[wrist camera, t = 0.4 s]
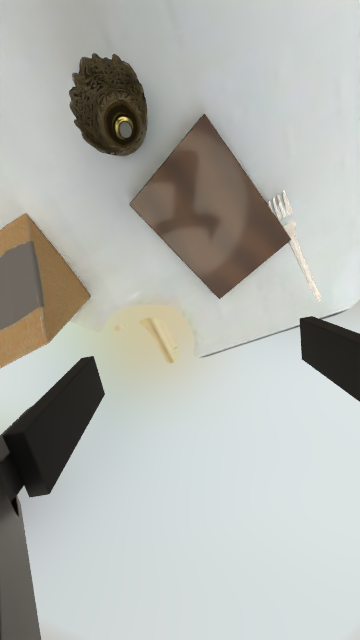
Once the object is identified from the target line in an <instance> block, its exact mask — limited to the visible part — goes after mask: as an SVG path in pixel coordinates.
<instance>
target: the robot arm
mask: <svg viewBox="0 0 360 640" xmlns="http://www.w3.org/2000/svg"><path fill="white" fill-rule="evenodd" d="M300 332H301V350H302V360H304V361H305V362H307V363H308V364H309V365H311V366H312V367H313V368H315V369H316V370H317V371H319V372H320V373H322V374H323V375H324V376H326V377H327V378H328V379H330V380H331V381H333V382H334V383H335V384H336V385H338V386H339V387H341V388H342V389H343V390H345V391H346V392H347V393H349V394H350V395H351V396H353V397H354V398H356V399H357V400H358V401H360V334H359V333H356V332H353V331H351V330H348V329H345V328H343V327H340V326H337V325H334V324H332V323H329V322H326V321H323V320H321V319H318V318H315V317H313V316H311V317H305V318H300ZM104 395H105V393H104V390H103V386H102V383H101V380H100V376H99V373H98V369H97V366H96V363H95V360H94V357H93V356H91V357H85V358H81V359H80V360H79V361H78V362H77V363H76V364H75V365H74V366H73V367H72V368H71V369H70V370H69V371H68V372H67V373H66V374H65V375H64V376H63V377H62V378H61V379H60V380H59V381H58V382H57V383H56V384H55V385H54V386H53V387H52V388H51V389H50V390H49V391H48V392H47V393H46V394H45V395H44V396H43V397H42V398H41V399H40V400H39V401H37V402H36V403H35V404H34V405H33V406H32V407H30V408H29V409H27V410H26V411H25V412H24V413H23V414H22V415H21V416H20V417H19V419H17V420H16V421H15V422H14V423H13V424H12V425H11V426H10V427H9V428H8V429H7V430H5V431H4V432H3V434H1V435H0V640H41V636H40V629H39V623H38V616H37V610H36V603H35V597H34V590H33V583H32V577H31V570H30V564H29V557H28V550H27V544H26V537H25V530H24V524H23V517H22V511H21V504H20V501H19V499H18V497H17V494H18V493H19V491H20V490H21V489H22V487H23V486H25V488H26V490H27V492H28V495H29V497H35V496H41V495H47V494H50V492H51V490H52V489H53V487H54V485H55V483H56V481H57V480H58V478H59V476H60V474H61V472H62V471H63V469H64V467H65V465H66V463H67V462H68V460H69V458H70V456H71V454H72V453H73V450H74V449H75V447H76V445H77V443H78V441H79V440H80V438H81V436H82V434H83V433H84V431H85V429H86V427H87V425H88V424H89V422H90V420H91V418H92V416H93V414H94V413H95V411H96V409H97V407H98V406H99V404H100V402H101V400H102V398H103V397H104Z"/></svg>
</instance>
